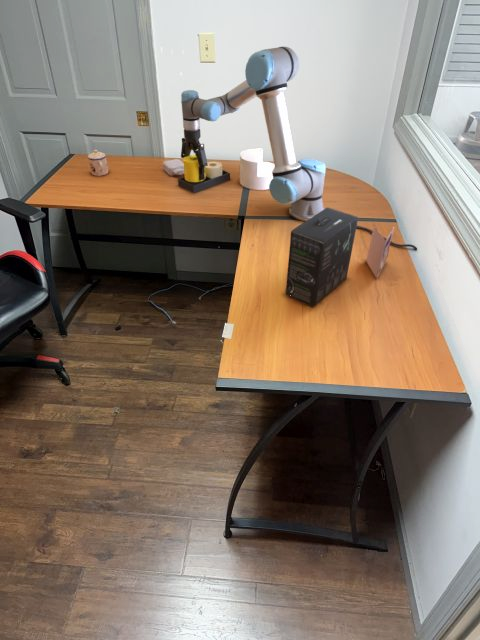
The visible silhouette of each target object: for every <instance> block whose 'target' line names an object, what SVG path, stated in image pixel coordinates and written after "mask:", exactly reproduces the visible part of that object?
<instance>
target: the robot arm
mask: <svg viewBox="0 0 480 640" xmlns="http://www.w3.org/2000/svg"><path fill="white" fill-rule="evenodd" d="M299 67H300V61H299V57H298V55H297V53H296V52H295V51H294V50H293V49H292V48H290V47H288V46H278V47H273V48H272V47H271V48H266V49H265V48H264V49H260V50H258V51H255V52H254V53H253V54H251V55H250V56H249V58H248V59H247V62H246V64H245V70H244V73H245V75H244V76H245V80H244V81H242V82H241V83H239V84H238V85H236V86H235V87H234V88H232V89H230V90H229V91H228V92H226V93H225V94H223V95H219V96H216V97H212V98H208V99H203V98H201V97H199V92H198V91H197V90H195V89H193V90H192V89H186V90H184V91H182V92H181V95H180V96H181V97H180V103H181V114H182V128H183V137H182V138H181V149H180V158H181V159H183V158H184V157H186V156H190V155H191V153H192V152H193V153H194V155H196V157H197V160H198V163H199V165H200V166H199V180H200V181H201V180H204V179H205V174H204V173H205V166H208V163H207V162H208V159H207V155H206V150H205V144H204V143H201V142H200V139H201V129H200V128H201V121H200V120H201V119H202V120H205V121H207V122H216V121H217V120H218V119H219V118H220V117H222V116H224V115H228V114H234V113H236V112H237V111H239V110H240V107H242V106H244V105H245V104H247V103H249V102H250V101H252V100H254V99H255V98H258V99H260V100H261V104H262V105H261V106H262V110H263V114H264V120H265V125H266V129H267V134H268V139H269V145H270V150H271V155H272V159H273V164H274V165H275V167H274V169H273V170H272V174H273V179H272V180H271V182H270V184H269V189H268V191H269V194H270V195H271V197H272V199H273V200H274V201H276V202H277V203H278V204H279V205H283V206H287V205H290V206H289V208H288V209H289V210H288V214H289V216H290V217H291V218H293V219H294V220H297V221H301V222H306V221H307V220H309V219H310V218H312V217H313V216H315V215H316V214H318V213H319V212H321V211H322V210H324V209H325V206H324V202H323V192H324V187H325V186H324V185H325V178H326V168H327V166H326V164H325V163H324V162H323V161H320V160H318V159H317V160H316V159H311V158H302V159H299V160H298V161H297V157H296V156H297V155H296V152H295V151H296V150H295V145H294V141H293V135H292V129H291V123H290V119H289V112H288V107H287V103H286V102H287V100H286V95H285V94H286V91H287V90H288V82H291V81H292V80H293V79H294V78H295V77H296V76H297V73H298V71H299ZM356 229H361V230H364V231H367V232H369V233H372V232H373V229H370V228H368V227H364V226H361V225H357V227H356ZM383 238H384V239H385V241H386V240H387V238H386V237H385V236H383ZM390 245H393V246H395V247H399V248H405V247H406V248H407V247H409V248H413V249H414V250H415V251H418V250H417V249H418V247H416V246H415V245H413V244H409V243H408V244H399V243H396V242H393V241H391V242H390Z"/></svg>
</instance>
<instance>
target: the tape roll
mask: <svg viewBox="0 0 480 640" xmlns="http://www.w3.org/2000/svg"><path fill="white" fill-rule="evenodd" d="M182 163H183V164H184V174H183V175H184V176H185V180H186V181H189V182H200V180H199V166H200V165H199V163H198V160H197V157H196V155H195V154H190V156H186V157H184V158H182ZM204 174H205V173H204ZM201 181H203V180H201Z"/></svg>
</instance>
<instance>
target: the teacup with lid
mask: <svg viewBox="0 0 480 640" xmlns="http://www.w3.org/2000/svg"><path fill="white" fill-rule="evenodd" d="M87 159H88V162H89V166H90V172H91V175H93V176H96V177H100V176H101V177H102V176H106V175H107V174H108V173H109V166H108V161H107V155H106V153H104V152H101V151H98V149H93V151H92V152H91V153H89V154H88V155H87Z"/></svg>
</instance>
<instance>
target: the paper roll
mask: <svg viewBox="0 0 480 640" xmlns="http://www.w3.org/2000/svg"><path fill="white" fill-rule="evenodd" d="M207 163H208V166H205V176H207V177H209V178H211V179H213V178H216V177H219V176H222V170H223V163H222V162H220V161H207Z"/></svg>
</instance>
